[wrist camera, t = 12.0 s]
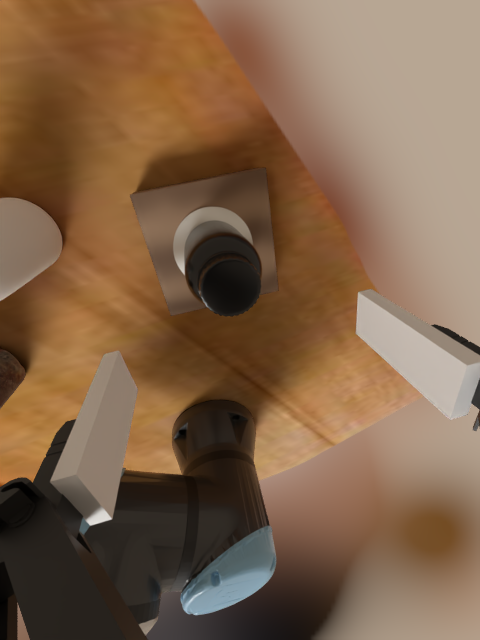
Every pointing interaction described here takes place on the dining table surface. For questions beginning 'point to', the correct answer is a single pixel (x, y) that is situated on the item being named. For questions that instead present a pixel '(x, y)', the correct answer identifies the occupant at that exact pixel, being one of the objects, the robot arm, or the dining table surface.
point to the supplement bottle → (222, 268)
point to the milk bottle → (25, 243)
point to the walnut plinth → (198, 207)
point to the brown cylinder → (9, 375)
